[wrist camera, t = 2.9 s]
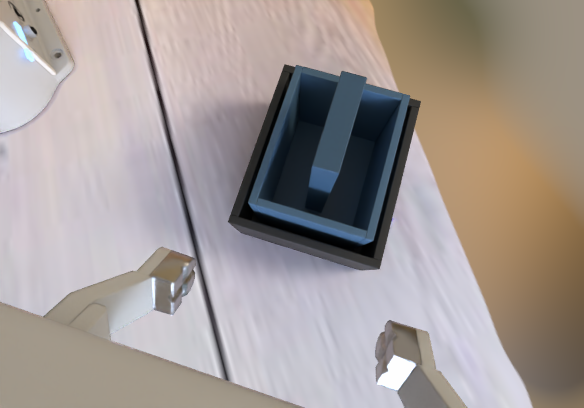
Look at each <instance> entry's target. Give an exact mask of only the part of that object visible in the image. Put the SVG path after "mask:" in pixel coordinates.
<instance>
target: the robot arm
mask: <svg viewBox="0 0 584 408" xmlns="http://www.w3.org/2000/svg"><path fill="white" fill-rule="evenodd" d="M73 68H74V61H73V59H72V57H71V55H70V53H69V51H68V49H67V46H66V44H65V42H64V40H63V38H62V36H61V34H60V32H59V30H58V28H57V26H56V24H55V21H54V19H53V17H52V15H51V13H50V11H49V9H48V7H47V5H46V3H45V1H44V0H0V133H2V132H7V131H10V130H13V129H16V128H18V127H20V126H22V125H24V124H26V123H27V122H29V121H30V120H32V119H33V118H34V117H36V116H37V115H38V114H39V113H40V112H41V111H42V110H43V109H44V108H45V107H46V105H47V104H48V102H49V101H50V99H51V98H52V96H53V94H54V92H55V90H56V88H57V86H58V84H59V83H60V82H61V81H62V80H63V79H64V78H65V77H66V76H67V75H68V74H69V73H70V72H71V71H72V69H73ZM195 266H196V259H195V258H193V257H190V256H187V255H184V254H182V253H179V252H176V251H172V250H169V249H166V248H164V247H161V248H159V249H157V250H156V251H155V252H154V254H153V255H152V256H151V257H150V258H149V259H148V260H147V261H146V262H145V263H144V264H143V265H142V266H141V267H140V268H139V269H138V270H137V271H130V272H128V273H125V274H122V275H119V276H116V277H113V278H111V279H108V280H105V281H102V282H99V283H97V284H94V285H91V286H88V287H85V288H83V289H80V290H77V291H74V292H71V293H70V294H68V295H67V296H66V297H65V298H64V299H63V300H62V301H60V302H59V303H58V304H57V305H56V306H55V307H54V308H53V309H51V310H50V311H49V312H48V313H47V314H46V315H45V316H43V317H42V316H39V315H36V314H33V313H30V312H28V311H25V310H22V309H19V308H16V307H13V306H10V305H7V304H4V303H2V302H0V408H304V407H301V406H298V405H295V404H292V403H289V402H286V401H284V400H281V399H278V398H275V397H272V396H269V395H266V394H263V393H261V392H258V391H255V390H252V389H249V388H246V387H243V386H241V385H238V384H235V383H232V382H229V381H226V380H223V379H220V378H218V377H215V376H212V375H209V374H206V373H203V372H200V371H197V370H195V369H192V368H189V367H186V366H183V365H180V364H177V363H174V362H171V361H169V360H166V359H163V358H160V357H157V356H154V355H151V354H148V353H146V352H143V351H140V350H137V349H134V348H131V347H128V346H125V345H123V344H120V343H117V342H114V341H111V337H110V335H111V334H113V333H114V332H116V331H118V330H120V329H121V328H123V327H125V326H127V325H128V324H130V323H132V322H134V321H135V320H137V319H139V318H141V317H142V316H144V315H146V314H148V313H149V312H151V311H153V309H154V310H157V311H160V312H163V313H167V314H170V315H174V313H175V312H176V310H177V309H178V307H179V306H180V304H181V303H182V297H183V296H185V295H187V294H188V293H189V291H190V290H191V287H192V285H193V283H194V279H195V272H194V270H193V269H194V267H195ZM375 357H376V359H377V360H378V364H377V366H376V384H379V385H381V386H384V387H387V388H389V389H392V390H395V391H398V392H397V393H398V395H399V397H400V399H401V401H402V403H403V405H404V407H405V408H467V406H466V405H465V404H464V402H463V401H462V400H461V398H460V397H459V396H458V394H457V393H456V392H455V390H454V389H453V388H452V387H451V385H450V384H449V383H448V381H447V380H446V379H445V377H444V376H443V375H442V373H441V372H440V371H437V370H436V366H435V361H434V356H433V351H432V347H431V342H430V337H429V334H428V332H426V331H423V330H420V329H417V328H413V327H410V326H407V325H404V324H400V323H397V322H394V321H391V320H389V321H388V322H387V323H386V325H385V332H382V333H380V335H379V337H378V340H377V343H376V350H375Z"/></svg>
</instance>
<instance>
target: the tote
mask: <svg viewBox="0 0 584 408" xmlns="http://www.w3.org/2000/svg"><path fill="white" fill-rule="evenodd" d="M294 70H295V67H293V66H289V65H284V67H283V70H282V73H281V76H280V79H279V81H278V84H277V87H276V90H275V93H274V95H273V98H272V101H271V104H270V106H269V109H268V112H267V115H266V118H265V120H264V123H263V126H262V129H261V132H260V134H259V137H258V140H257V143H256V145H255V148H254V151H253V154H252V157H251V159H250V162H249V165H248V168H247V171H246V173H245V176H244V179H243V182H242V184H241V187H240V190H239V193H238V196H237V198H236V201H235V204H234V207H233V209H232V212H231V215H230V218H229V221H228V222H229V223H230V224H231V225H232V226H234V227H235V228H236V229H237V230H238V231H240V232H241V233H243V234H246V235H249V236H253V237H256V238H259V239H262V240H265V241H269V242H272V243H275V244H278V245H281V246H285V247H288V248H291V249H294V250H297V251H301V252H304V253H307V254H310V255H313V256H316V257H320V258H323V259H326V260H329V261H332V262H336V263H339V264H342V265H345V266H348V267H352V268H355V269H358V270H375V269H380V265H381V261H382V257H383V253H384V249H385V245H386V241H387V237H388V233H389V229H390V225H391V221H392V217H393V213H394V209H395V204H396V200H397V196H398V192H399V188H400V184H401V180H402V176H403V172H404V168H405V164H406V160H407V156H408V152H409V148H410V143H411V139H412V135H413V131H414V127H415V123H416V119H417V115H418V111H419V107H420V103H421V101H417V100H414V99H409V103H408V107H407V111H406V115H405V119H404V123H403V126H402V130H401V134H400V138H399V142H398V146H397V150H396V154H395V158H394V162H393V166H392V170H391V173H390V177H389V181H388V185H387V189H386V193H385V197H384V201H383V205H382V209H381V213H380V217H379V221H378V224H377V228H376V232H375V236H374V240H373V241H372V242H369V243H367V244H365V245H362V246H360V247H358V248H355V249H353V250H349V249H346V248H343V247H340V246H336V245H333V244H330V243H327V242H324V241H320V240H317V239H314V238H311V237H307V236H304V235H301V234H298V233H294V232H291V231H288V230H285V229H281V228H278V227H275V226H272V225H269V224H265V223H262V222H260V221H259V219H258V218H257V216H256V214H255V213H254V211H253V210H252V208H251V206H250V205H249V203H248V201H249V198H250V195H251V193H252V190H253V187H254V184H255V181H256V178H257V175H258V173H259V170H260V167H261V164H262V161H263V158H264V155H265V153H266V150H267V147H268V144H269V141H270V138H271V135H272V133H273V130H274V127H275V124H276V121H277V118H278V115H279V113H280V110H281V107H282V104H283V101H284V98H285V95H286V93H287V90H288V87H289V84H290V81H291V78H292V75H293V73H294Z"/></svg>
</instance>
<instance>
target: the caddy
mask: <svg viewBox="0 0 584 408" xmlns="http://www.w3.org/2000/svg"><path fill="white" fill-rule="evenodd" d="M366 80H367V78H366V77H363V76H359V75H356V74H352V73H348V72H345V71H342V72H341V75H340V76H336V75H332V74H329V73H325V72H321V71H318V70H314V69H310V68H307V67H302V66H299V65H296V67H295V70H294V73H293V75H292V78H291V81H290V84H289V87H288V90H287V93H286V95H285V98H284V101H283V104H282V107H281V110H280V113H279V115H278V118H277V121H276V124H275V127H274V130H273V133H272V135H271V138H270V141H269V144H268V147H267V150H266V153H265V155H264V158H263V161H262V164H261V167H260V170H259V173H258V175H257V178H256V181H255V184H254V187H253V190H252V193H251V195H250V198H249V201H248V203H249V205H250V206H251V208H252V210H253V211H254V213H255V214H256V216H257V218H258V219H259V221H260V222H262V223H265V224H269V225H272V226H275V227H278V228H281V229H285V230H288V231H291V232H294V233H298V234H301V235H304V236H307V237H311V238H314V239H317V240H320V241H324V242H327V243H330V244H333V245H336V246H340V247H343V248H346V249H349V250H353V249H355V248H358V247H360V246H362V245H365V244H367V243H369V242H372V241H373V240H374V236H375V232H376V228H377V224H378V221H379V217H380V213H381V209H382V205H383V201H384V197H385V193H386V189H387V185H388V181H389V177H390V173H391V170H392V166H393V162H394V158H395V154H396V150H397V146H398V142H399V138H400V134H401V130H402V126H403V123H404V119H405V115H406V111H407V107H408V103H409V99H410V95H406V94H402V93H399V92H395V91H391V90H388V89H384V88H380V87H377V86H373V85H369V84H365V83H366Z"/></svg>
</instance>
